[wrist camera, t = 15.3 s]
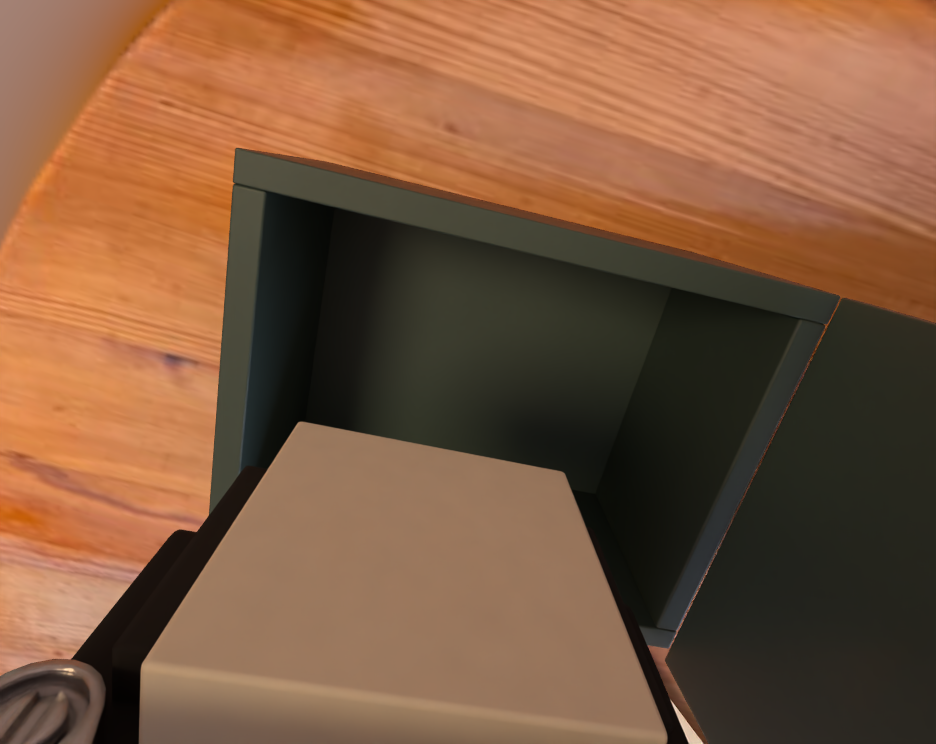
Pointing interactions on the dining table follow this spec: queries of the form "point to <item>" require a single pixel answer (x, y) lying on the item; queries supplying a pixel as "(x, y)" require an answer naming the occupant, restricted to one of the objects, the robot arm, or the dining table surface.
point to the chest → (510, 354)
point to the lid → (830, 557)
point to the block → (399, 610)
